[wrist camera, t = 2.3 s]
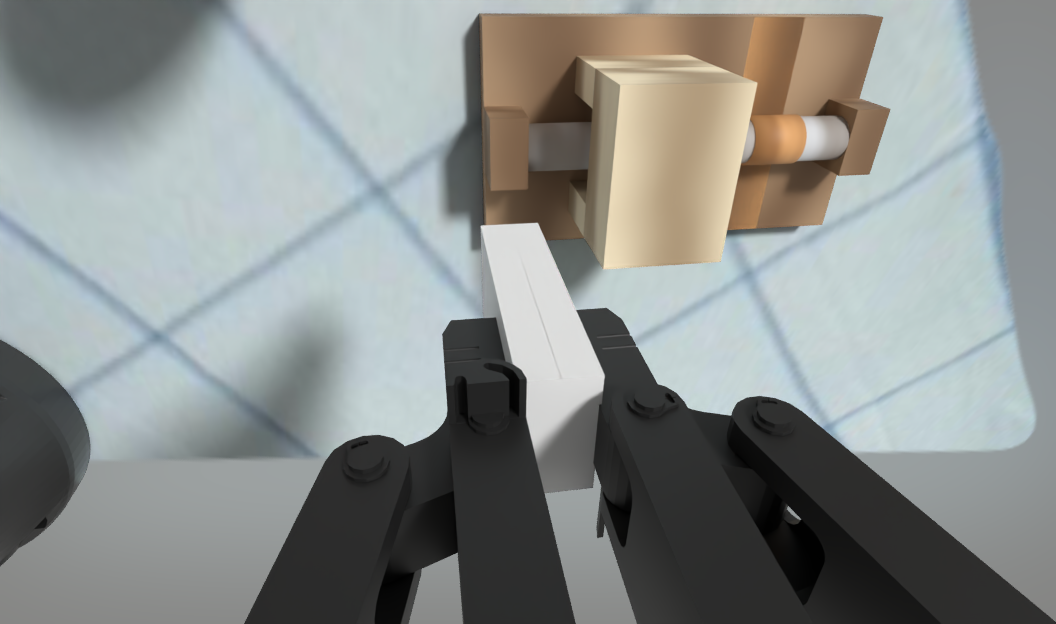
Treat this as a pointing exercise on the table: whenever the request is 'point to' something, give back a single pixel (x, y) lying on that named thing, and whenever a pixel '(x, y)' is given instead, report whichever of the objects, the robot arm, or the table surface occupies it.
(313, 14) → the table surface
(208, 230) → the table surface
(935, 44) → the table surface
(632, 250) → the collar
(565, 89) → the rail
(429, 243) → the table surface
